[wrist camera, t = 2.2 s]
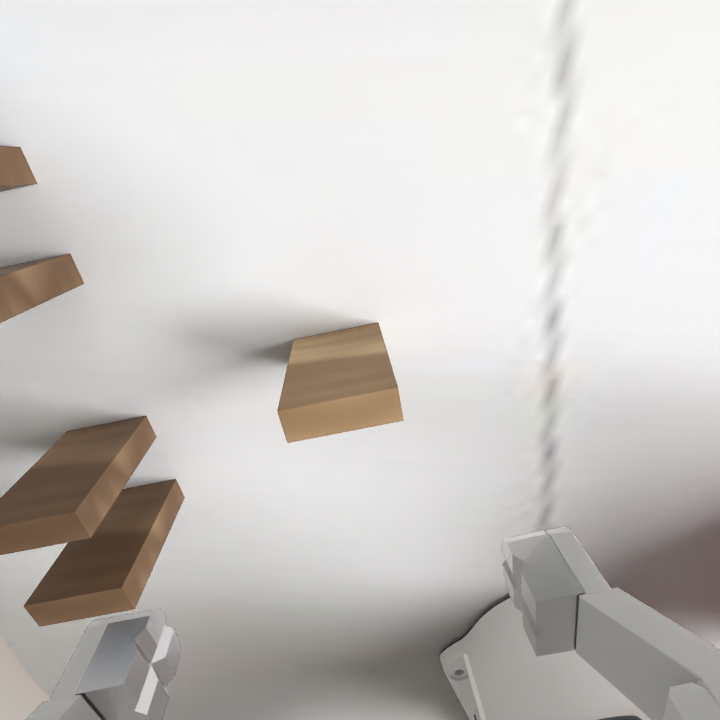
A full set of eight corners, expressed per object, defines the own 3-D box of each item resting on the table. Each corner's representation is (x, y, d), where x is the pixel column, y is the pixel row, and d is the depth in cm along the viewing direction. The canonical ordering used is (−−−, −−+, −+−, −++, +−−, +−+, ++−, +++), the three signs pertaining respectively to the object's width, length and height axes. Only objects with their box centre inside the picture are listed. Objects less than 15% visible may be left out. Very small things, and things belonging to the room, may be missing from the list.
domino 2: (156, 437, 27) (90, 537, 20) (79, 452, 27) (-15, 557, 20) (146, 415, 26) (74, 511, 19) (67, 431, 26) (-35, 532, 19)
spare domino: (382, 347, 25) (403, 420, 18) (300, 364, 25) (287, 442, 18) (378, 322, 25) (398, 387, 17) (293, 339, 25) (277, 411, 17)
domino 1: (184, 497, 29) (134, 608, 22) (113, 511, 29) (39, 626, 22) (176, 479, 28) (121, 587, 21) (102, 493, 28) (23, 606, 21)
